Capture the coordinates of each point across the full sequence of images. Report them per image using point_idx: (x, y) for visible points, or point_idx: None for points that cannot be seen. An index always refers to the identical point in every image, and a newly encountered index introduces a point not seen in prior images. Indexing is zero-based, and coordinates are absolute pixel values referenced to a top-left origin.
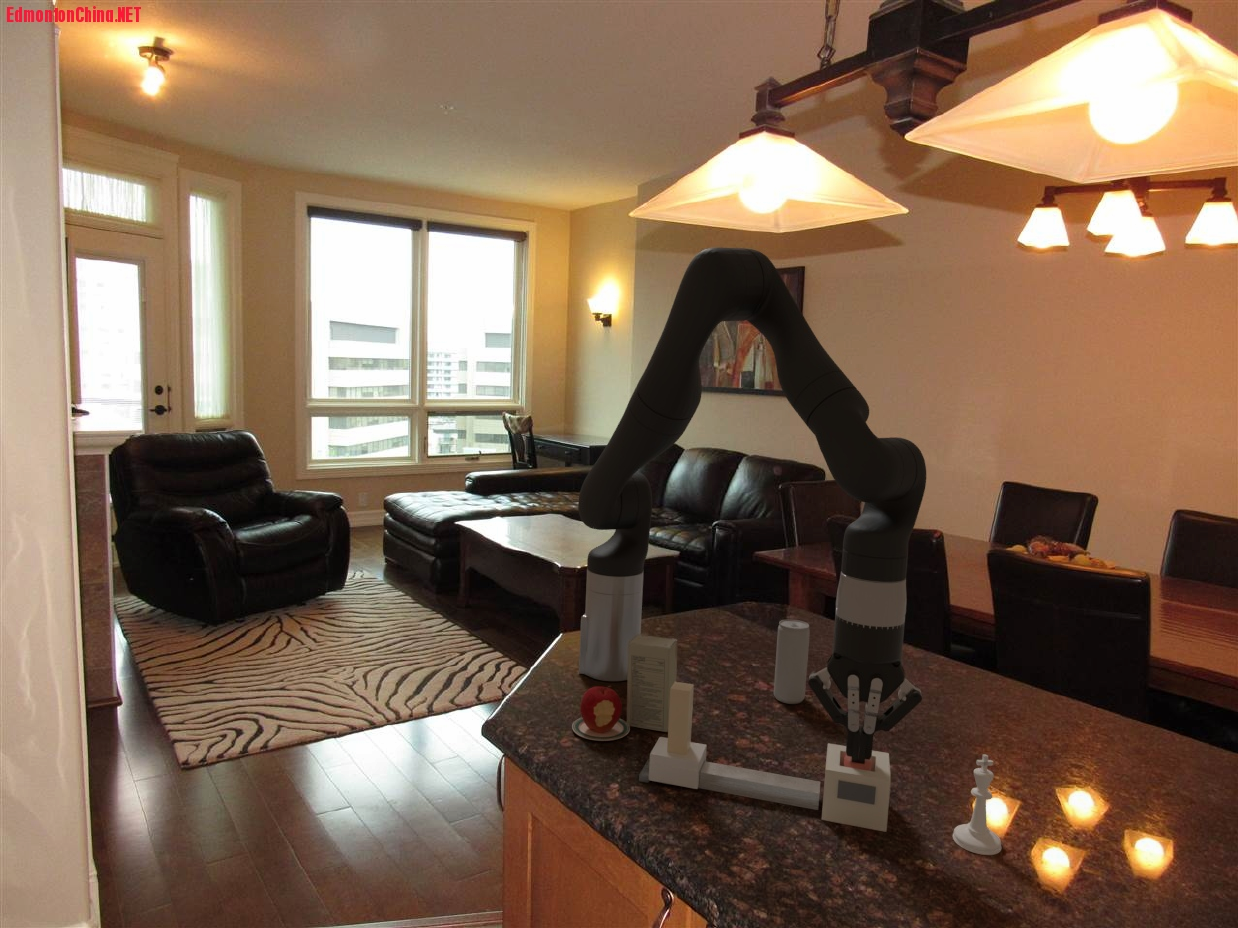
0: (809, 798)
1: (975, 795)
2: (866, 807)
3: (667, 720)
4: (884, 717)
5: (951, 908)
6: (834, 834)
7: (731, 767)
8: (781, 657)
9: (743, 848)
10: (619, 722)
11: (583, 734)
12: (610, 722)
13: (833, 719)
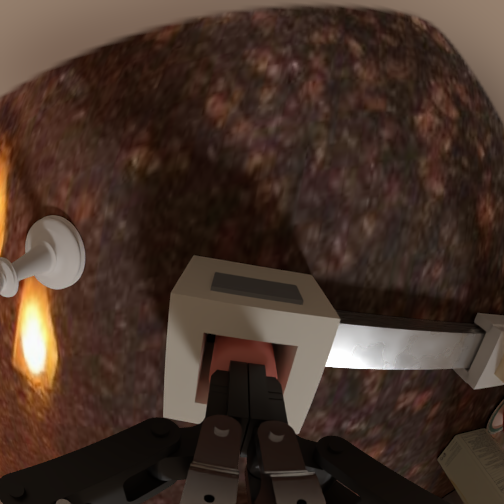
0: None
1: (11, 266)
2: (231, 274)
3: (462, 444)
4: (162, 465)
5: (139, 50)
6: (296, 227)
7: (441, 364)
8: None
9: (444, 163)
10: (492, 426)
11: None
12: None
13: (347, 443)
